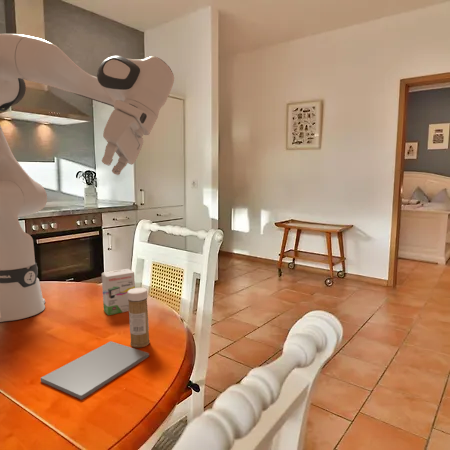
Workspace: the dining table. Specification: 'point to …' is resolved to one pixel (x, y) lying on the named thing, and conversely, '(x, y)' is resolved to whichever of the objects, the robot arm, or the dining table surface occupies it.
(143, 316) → the sprinkles bottle
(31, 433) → the dining table surface
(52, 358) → the dining table surface
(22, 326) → the dining table surface
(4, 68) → the robot arm
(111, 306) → the ink box
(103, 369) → the cutting board
